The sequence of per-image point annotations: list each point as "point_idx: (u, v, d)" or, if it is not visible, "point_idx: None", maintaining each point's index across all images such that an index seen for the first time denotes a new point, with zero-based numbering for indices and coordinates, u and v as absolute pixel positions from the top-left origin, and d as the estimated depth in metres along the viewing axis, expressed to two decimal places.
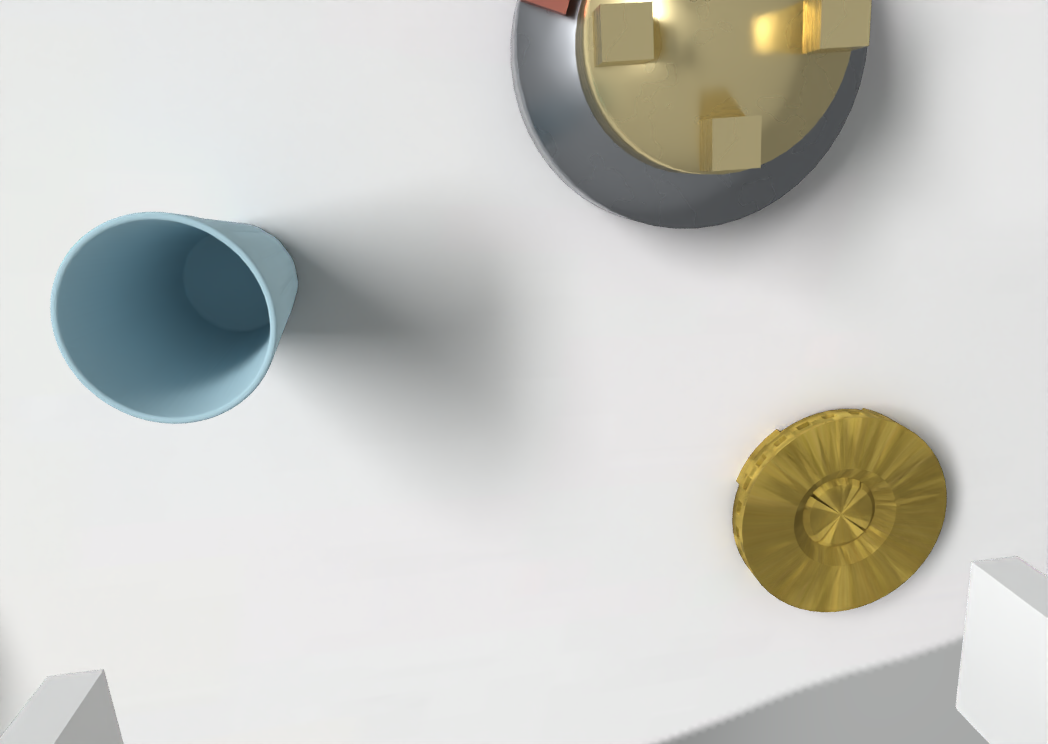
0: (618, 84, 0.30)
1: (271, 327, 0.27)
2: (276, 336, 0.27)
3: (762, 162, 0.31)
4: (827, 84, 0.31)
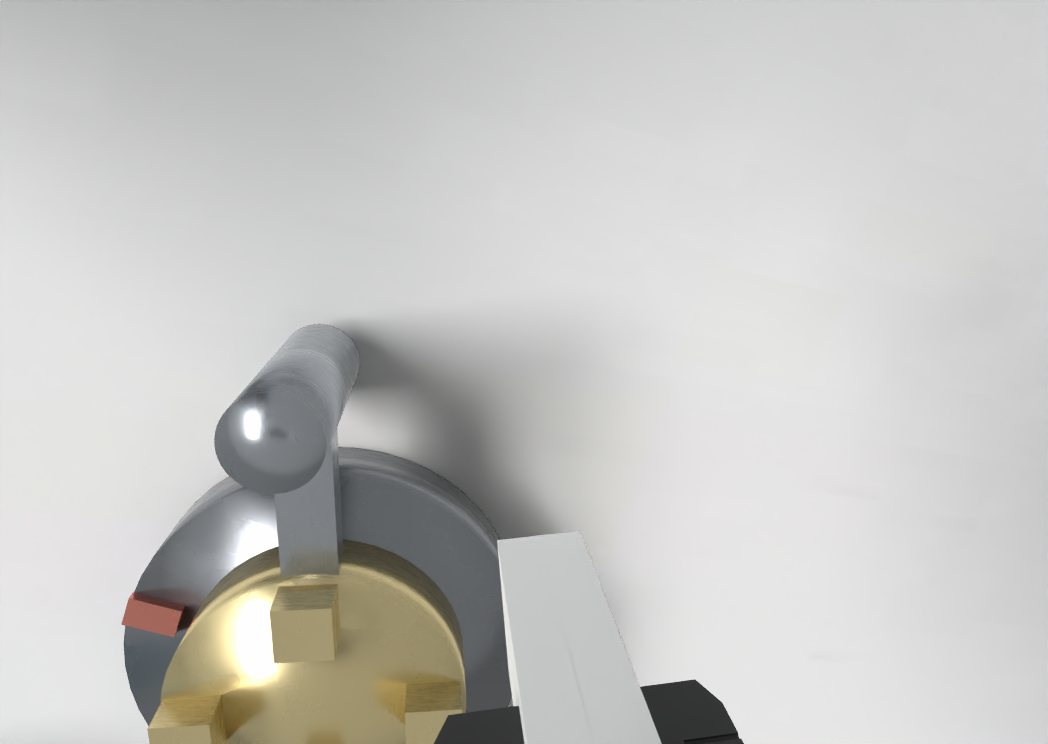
0: None
1: None
2: None
3: None
4: None
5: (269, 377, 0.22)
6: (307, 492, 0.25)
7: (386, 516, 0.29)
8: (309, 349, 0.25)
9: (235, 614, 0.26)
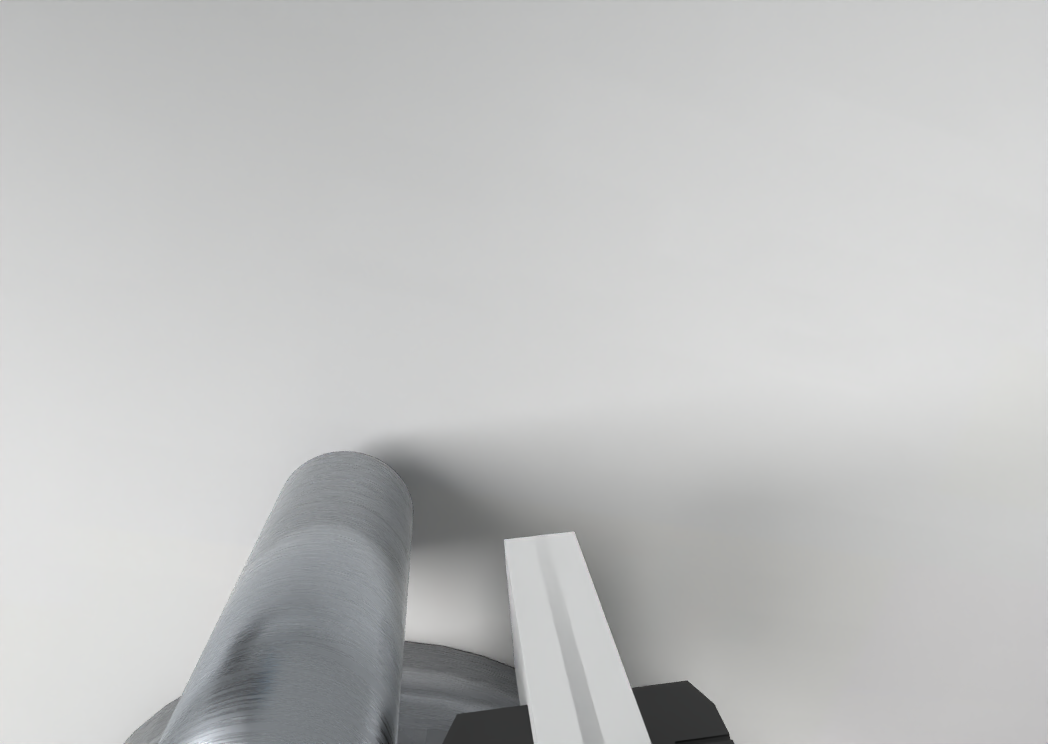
0: None
1: None
2: None
3: None
4: None
5: (247, 671, 0.09)
6: None
7: None
8: (332, 539, 0.12)
9: None
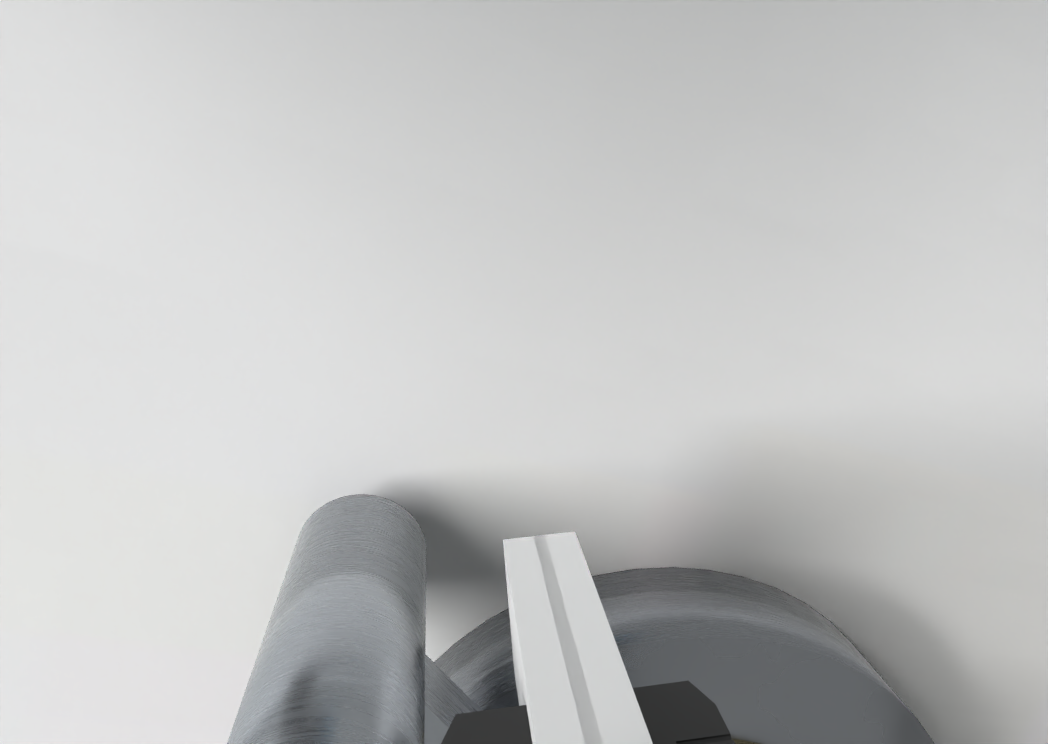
0: None
1: None
2: None
3: None
4: None
5: None
6: None
7: (800, 701, 0.18)
8: (300, 602, 0.13)
9: None
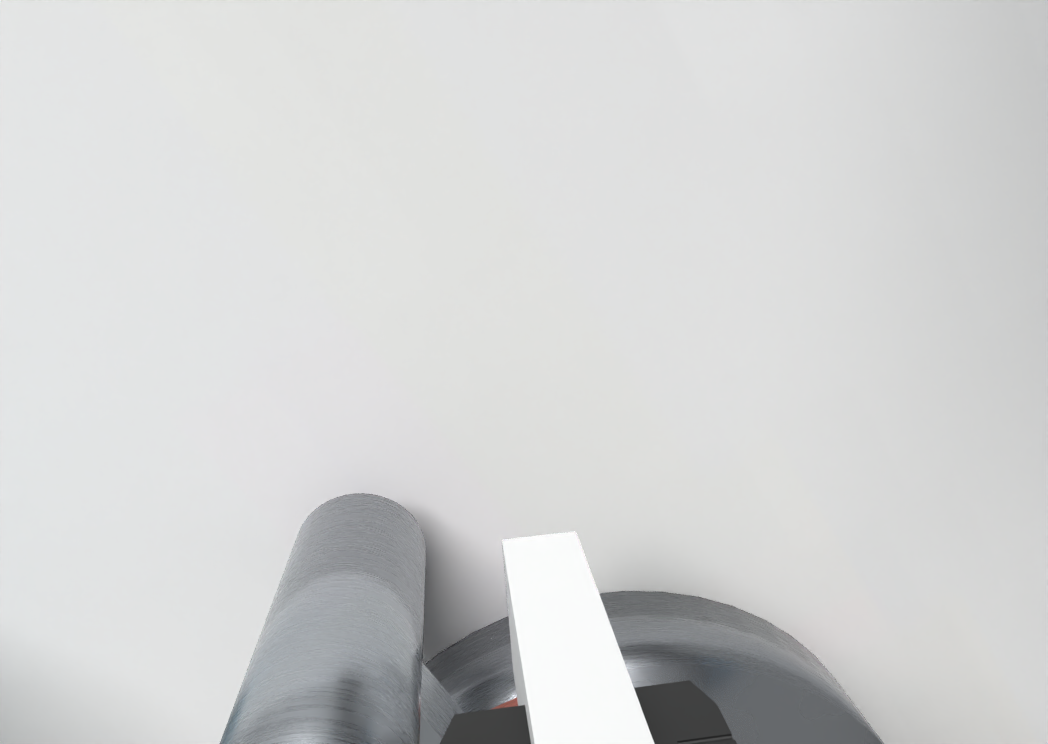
0: None
1: None
2: None
3: None
4: None
5: None
6: None
7: None
8: (303, 598, 0.13)
9: None
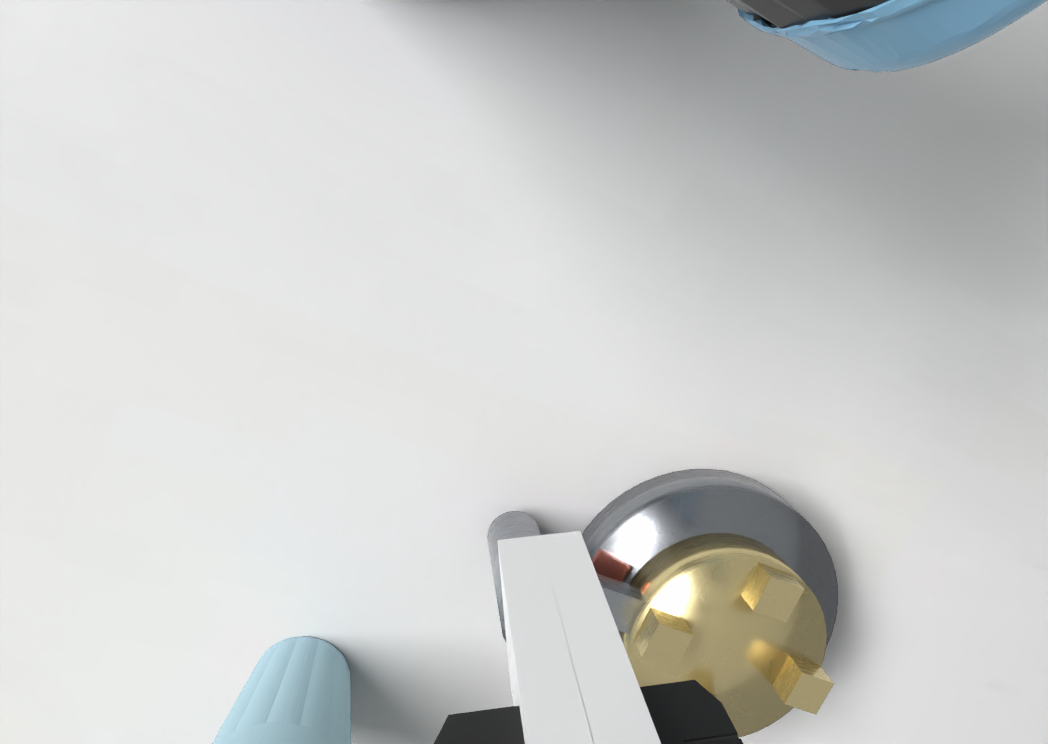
0: None
1: None
2: None
3: (823, 653, 0.40)
4: (802, 595, 0.39)
5: (499, 602, 0.35)
6: None
7: (776, 526, 0.42)
8: (498, 556, 0.38)
9: (638, 669, 0.39)
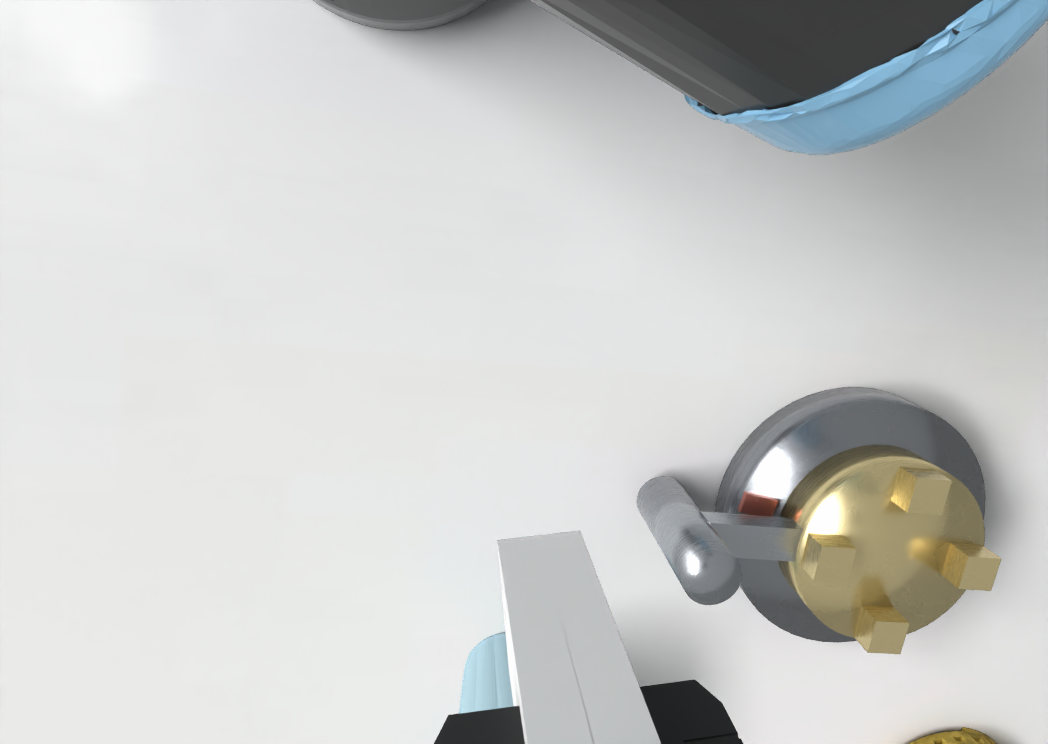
0: None
1: None
2: None
3: (983, 533, 0.42)
4: (949, 485, 0.41)
5: (673, 564, 0.38)
6: (744, 540, 0.41)
7: (907, 427, 0.43)
8: (656, 523, 0.41)
9: (811, 590, 0.42)
